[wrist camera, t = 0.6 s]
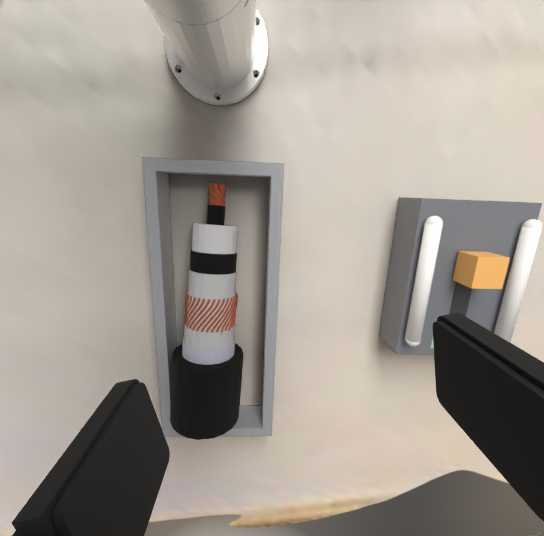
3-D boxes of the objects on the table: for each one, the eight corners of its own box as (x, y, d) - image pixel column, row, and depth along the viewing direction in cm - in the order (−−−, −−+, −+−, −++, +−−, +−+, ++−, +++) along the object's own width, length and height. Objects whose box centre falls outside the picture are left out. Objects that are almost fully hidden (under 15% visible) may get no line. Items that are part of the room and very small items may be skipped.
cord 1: (423, 214, 37) (432, 216, 35) (438, 215, 37) (448, 216, 35) (401, 341, 41) (408, 348, 39) (414, 341, 41) (422, 349, 39)
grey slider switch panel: (399, 197, 42) (422, 198, 36) (503, 201, 43) (542, 203, 37) (378, 333, 47) (396, 354, 42) (471, 334, 48) (501, 354, 42)
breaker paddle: (458, 251, 38) (478, 256, 34) (487, 251, 38) (510, 257, 35) (452, 279, 39) (471, 288, 35) (480, 280, 39) (502, 289, 36)
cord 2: (519, 218, 37) (533, 219, 35) (534, 218, 37) (549, 220, 35) (487, 342, 42) (498, 349, 40) (500, 342, 42) (512, 349, 40)
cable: (237, 191, 45) (269, 187, 36) (224, 389, 50) (249, 426, 41) (170, 182, 40) (189, 174, 31) (164, 403, 45) (178, 449, 36)
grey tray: (156, 161, 39) (142, 157, 34) (280, 166, 40) (284, 163, 35) (172, 413, 49) (162, 436, 45) (270, 412, 50) (271, 435, 46)
